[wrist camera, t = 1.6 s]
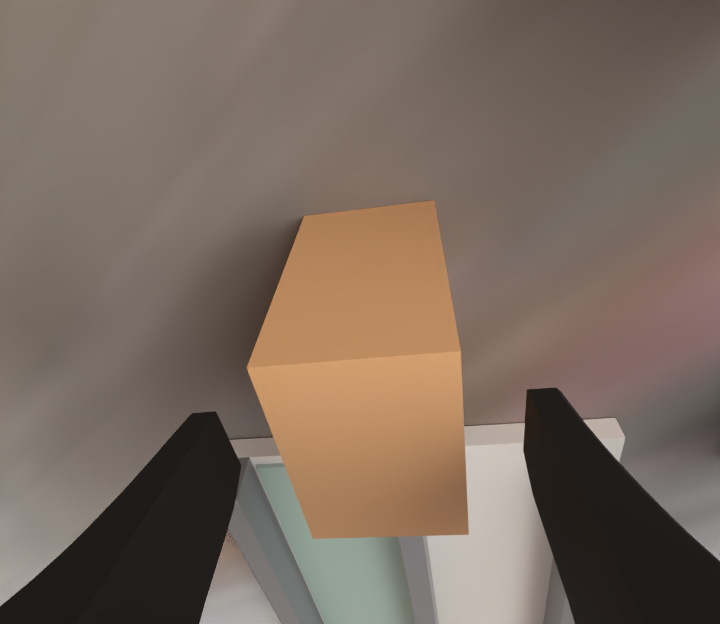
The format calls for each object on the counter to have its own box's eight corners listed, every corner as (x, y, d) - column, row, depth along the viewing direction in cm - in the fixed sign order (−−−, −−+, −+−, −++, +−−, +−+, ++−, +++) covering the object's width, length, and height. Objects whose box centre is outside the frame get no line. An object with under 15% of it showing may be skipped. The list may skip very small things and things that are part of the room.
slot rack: (615, 417, 19) (648, 483, 16) (567, 632, 30) (583, 690, 28) (212, 440, 21) (188, 501, 19) (308, 632, 32) (301, 685, 30)
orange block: (434, 199, 14) (460, 350, 8) (444, 353, 18) (468, 534, 12) (304, 215, 15) (246, 367, 9) (338, 361, 18) (312, 539, 12)
